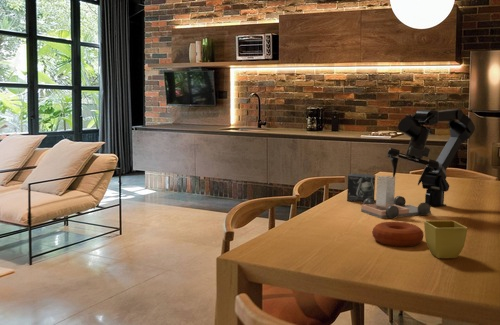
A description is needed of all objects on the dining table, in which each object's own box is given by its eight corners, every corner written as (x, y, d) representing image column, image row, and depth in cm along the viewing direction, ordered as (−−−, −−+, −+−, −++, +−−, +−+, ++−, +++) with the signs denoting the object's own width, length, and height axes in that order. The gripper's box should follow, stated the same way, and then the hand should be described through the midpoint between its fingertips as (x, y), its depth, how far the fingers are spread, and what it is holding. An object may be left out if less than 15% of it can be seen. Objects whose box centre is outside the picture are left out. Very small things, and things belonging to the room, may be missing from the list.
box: (346, 201, 229) (347, 175, 228) (348, 198, 236) (349, 173, 234) (373, 203, 226) (374, 177, 225) (374, 200, 233) (375, 174, 231)
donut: (432, 242, 170) (433, 226, 169) (406, 252, 159) (406, 234, 159) (389, 233, 180) (390, 217, 180) (361, 241, 170) (362, 224, 169)
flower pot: (421, 251, 159) (423, 220, 158) (451, 251, 160) (453, 220, 159) (434, 261, 151) (436, 228, 149) (466, 261, 151) (468, 227, 150)
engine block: (384, 209, 210) (385, 175, 209) (393, 211, 207) (395, 177, 205) (375, 210, 208) (377, 176, 206) (385, 212, 204) (386, 178, 202)
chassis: (406, 206, 221) (406, 195, 220) (433, 214, 207) (434, 202, 206) (358, 210, 212) (359, 198, 211) (384, 219, 198) (384, 207, 197)
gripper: (395, 129, 207) (382, 170, 205) (447, 144, 203) (434, 186, 202) (392, 136, 218) (380, 174, 216) (441, 150, 214) (429, 189, 213)
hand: (405, 181), depth 211 cm, fingers open, 9 cm apart
